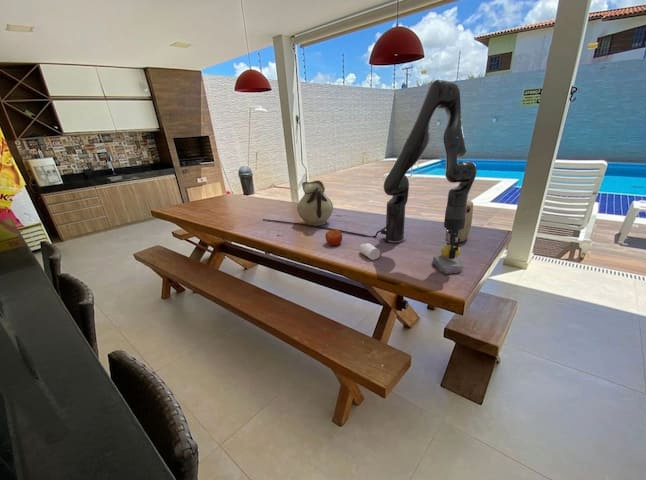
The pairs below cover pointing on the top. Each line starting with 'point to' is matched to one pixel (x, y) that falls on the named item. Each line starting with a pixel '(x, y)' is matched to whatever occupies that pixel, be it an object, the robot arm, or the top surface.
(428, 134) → the robot arm
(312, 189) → the cream drawstring sack
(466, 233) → the food model
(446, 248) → the lemon
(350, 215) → the top surface
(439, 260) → the stone block
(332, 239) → the tomato
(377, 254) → the roll
